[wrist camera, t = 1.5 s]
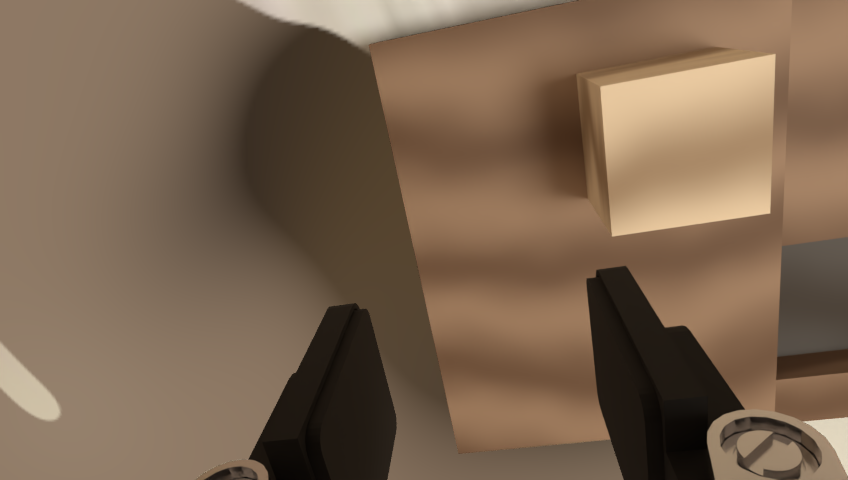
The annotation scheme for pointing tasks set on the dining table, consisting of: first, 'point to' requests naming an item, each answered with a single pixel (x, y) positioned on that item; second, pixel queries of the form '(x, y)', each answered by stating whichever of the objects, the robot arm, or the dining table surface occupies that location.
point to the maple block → (679, 139)
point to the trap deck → (584, 230)
